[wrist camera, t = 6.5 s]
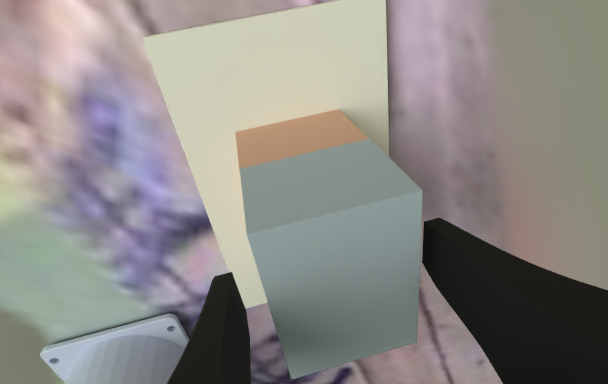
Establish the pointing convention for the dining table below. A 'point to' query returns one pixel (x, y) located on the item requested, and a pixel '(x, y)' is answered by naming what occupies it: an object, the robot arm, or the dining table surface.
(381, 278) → the slate brick
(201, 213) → the dining table surface
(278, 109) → the baseboard
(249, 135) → the terracotta brick
